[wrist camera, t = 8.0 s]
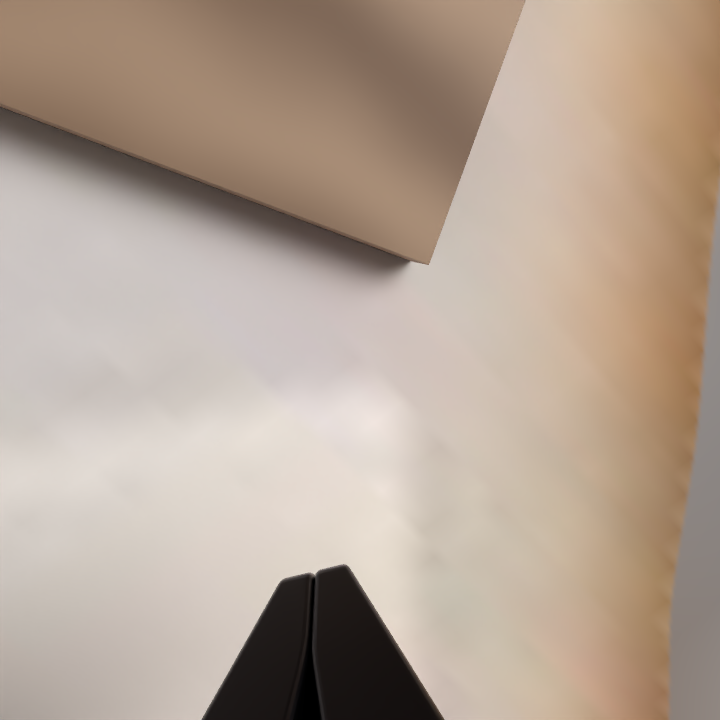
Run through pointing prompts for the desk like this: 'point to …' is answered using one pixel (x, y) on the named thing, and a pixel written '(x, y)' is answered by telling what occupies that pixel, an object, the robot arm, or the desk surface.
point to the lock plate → (274, 97)
